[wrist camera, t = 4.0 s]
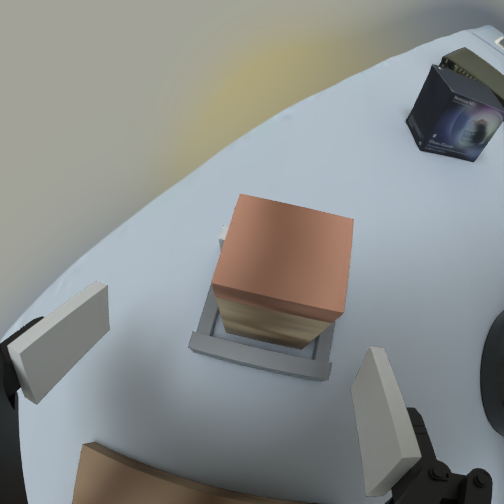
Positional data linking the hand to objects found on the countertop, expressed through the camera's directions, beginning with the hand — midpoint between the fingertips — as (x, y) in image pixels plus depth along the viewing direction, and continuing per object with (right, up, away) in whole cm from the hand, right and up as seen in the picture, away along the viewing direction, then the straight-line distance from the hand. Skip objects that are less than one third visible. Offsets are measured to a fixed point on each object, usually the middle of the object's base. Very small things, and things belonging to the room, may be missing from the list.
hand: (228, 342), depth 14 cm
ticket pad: (+3, 0, +10) cm, 11 cm away
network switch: (+54, +41, +33) cm, 75 cm away
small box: (+28, +20, +21) cm, 40 cm away
